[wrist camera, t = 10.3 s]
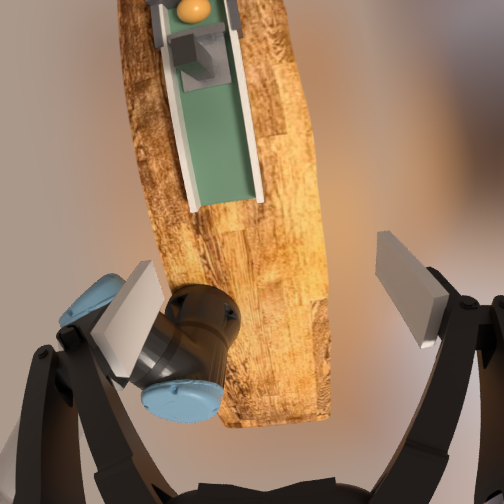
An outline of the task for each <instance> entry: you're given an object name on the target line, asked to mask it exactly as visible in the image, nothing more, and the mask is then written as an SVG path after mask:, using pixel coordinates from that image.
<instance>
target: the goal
mask: <svg viewBox="0 0 504 504" xmlns="http://www.w3.org/2000/svg"><path fill="white" fill-rule="evenodd" d="M145 1H146V3H147V4H148V5H150V8H151V18H152V27H153V36H154V44H155V48H156V49H157V50H159V51H160V52H161V47H164V43H163V35H162V27H161V19H160V10H159V5H160V4H163V5H164V6H165V7H166V8H167V10H169V9H173V8H176V7H178V4H179V3H180V2H181V1H182V0H145ZM227 1H228V6H229V12H230V17H231V23H232V28H233V31H234V30H237V33H238V37H239V39H240V38H243V32H242V27H241V21H240V16H239V11H238V5H237V0H227Z"/></svg>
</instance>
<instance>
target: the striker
mask: <svg viewBox="0 0 504 504" xmlns="http://www.w3.org/2000/svg"><path fill="white" fill-rule="evenodd" d="M225 38H228V34H227V29H226V26H225V24H224V22H221V23H216V24H211V25H206V26H202V27H197V28H193V29H189V30H185V31H181V32H177V33H174V34H170V35H168V40H169V44H170V45H171V47H172V54H173V61H174V67H176V68H178V69H179V70H181V75H182V81H183V88H184V92H185V93H187V92H191V91H196V90H200V89H205V88H210V87H215V86H220V85H226V84H232V79H231V73H230V67H229V61H228V55H227V49H226V43H225Z"/></svg>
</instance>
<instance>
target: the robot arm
mask: <svg viewBox="0 0 504 504" xmlns="http://www.w3.org/2000/svg"><path fill="white" fill-rule="evenodd" d="M375 274H376V276H377V277H378V278H379V280H380V282H381V283H382V285H383V287H384V288H385V290H386V291H387V293H388V294H389V296H390V298H391V299H392V301H393V302H394V304H395V306H396V307H397V309H398V311H399V312H400V314H401V316H402V317H403V319H404V321H405V322H406V324H407V326H408V327H409V329H410V331H411V333H412V334H413V336H414V338H415V340H416V341H417V343H418V345H419V347H420V349H422V348H426V347H429V346H433V345H434V344H435V342H436V339H437V336H439V337H440V338H441V340H442V342H441V344H440V348H439V350H438V353H437V356H436V360H435V363H434V366H433V369H432V372H431V374H430V377H429V380H428V382H427V385H426V388H425V390H424V393H423V395H422V397H421V400H420V403H419V405H418V407H417V409H416V411H415V414H414V416H413V418H412V420H411V422H410V425H409V427H408V429H407V431H406V433H405V435H404V437H403V439H402V441H401V443H400V444H399V446H398V448H397V450H396V452H395V454H394V455H393V457H392V459H391V461H390V462H389V464H388V466H387V468H386V469H385V471H384V472H383V474H382V476H381V477H380V478H379V480H378V481H377V483H376V484H375V486H374V487H373V489H372V490H371V492H369V491H367V490H365V489H362V488H360V487H357V486H353V485H349V484H342V483H336V481H335V477H332V478H326V479H320V480H312V481H303V482H299V483H296V484H292V485H289V486H286V487H283V488H279V489H275V490H271V491H268V492H262V491H257V490H252V489H248V488H243V487H239V486H234V485H228V484H207V483H199V485H198V490H193V491H188V492H185V493H183V494H180V495H178V494H177V493H176V492H175V491H174V490H173V489H172V488H171V487H170V486H169V484H168V483H167V482H166V480H165V479H164V477H163V476H162V474H161V473H160V471H159V469H158V468H157V466H156V465H155V463H154V461H153V460H152V458H151V457H150V455H149V453H148V451H147V450H146V448H145V446H144V444H143V443H142V441H141V439H140V437H139V435H138V434H137V432H136V430H135V428H134V426H133V424H132V422H131V420H130V418H129V416H128V414H127V412H126V410H125V408H124V406H123V404H122V402H121V400H120V397H119V395H118V393H117V391H122V390H123V389H124V388H125V386H126V385H127V383H128V382H129V381H130V382H131V383H133V384H134V385H136V386H137V387H138V388H140V389H141V390H142V392H141V402H142V404H143V405H144V407H145V408H146V409H147V410H148V411H149V412H151V413H152V414H154V415H156V416H157V417H160V418H162V419H166V420H169V421H174V422H180V423H196V422H201V421H205V420H208V419H210V418H211V417H213V416H214V415H215V414H216V413H217V412H218V410H219V408H220V404H221V399H222V396H223V394H224V381H225V372H226V363H227V353H228V350H229V348H230V347H231V345H232V343H233V342H234V340H235V339H236V337H237V336H238V333H239V330H240V324H241V314H240V311H239V308H238V306H237V305H236V303H235V302H234V300H233V299H232V298H231V297H230V296H228V295H227V294H226V293H224V292H223V291H221V290H219V289H216V288H214V287H211V286H206V285H191V286H186V287H183V288H181V289H179V290H178V291H176V292H175V293H174V294H173V295H172V296H171V298H170V299H169V302H168V304H167V306H166V309H165V314H163V313H161V312H160V311H159V310H160V308H161V306H162V304H163V302H164V300H165V297H164V294H163V291H162V289H161V286H160V283H159V280H158V277H157V274H156V271H155V268H154V265H153V262H152V260H149V261H141V262H140V263H139V265H138V266H137V268H136V269H135V270H134V271H133V273H132V274H131V275H130V277H129V278H128V280H127V281H125V280H123V279H122V278H121V277H120V276H118V275H117V274H107V275H105V276H103V277H102V278H100V279H99V280H98V281H97V282H95V283H94V284H93V285H92V286H91V287H90V288H89V289H88V290H86V291H85V292H84V293H83V294H82V295H81V296H80V297H79V298H78V299H77V300H76V301H75V302H74V303H73V304H72V305H71V307H69V308H68V310H67V311H66V312H65V313H64V314H63V315H62V316H61V317H60V319H59V324H60V326H61V329H60V330H59V331H58V333H57V335H56V338H57V340H58V347H59V352H55V350H54V349H53V347H52V346H51V345H44V346H41V347H40V348H38V349H37V351H36V352H35V353H34V355H33V359H32V363H31V367H30V371H29V375H28V379H27V384H26V389H25V394H24V399H23V405H22V411H21V416H20V418H19V420H18V421H17V423H16V425H15V427H14V429H13V431H12V432H11V434H10V436H9V438H8V440H7V442H6V444H5V446H4V448H3V450H2V452H1V454H0V504H86V501H85V495H84V488H83V480H82V472H81V461H80V449H79V440H80V438H81V436H82V434H83V433H85V436H86V439H87V442H88V445H89V448H90V451H91V453H92V456H93V459H94V461H95V464H96V466H97V469H98V472H97V473H94V479H95V482H96V484H97V487H98V489H99V491H100V494H101V496H102V498H103V500H104V502H105V504H429V502H430V500H431V498H432V496H433V494H434V492H435V490H436V488H437V486H438V484H439V482H440V480H441V477H442V475H443V472H444V470H445V468H446V465H447V463H448V460H449V455H448V454H447V453H448V449H449V446H450V443H451V441H452V438H453V435H454V432H455V429H456V426H457V423H458V420H459V417H460V413H461V410H462V407H463V403H464V399H465V395H466V392H467V387H468V383H469V379H470V374H471V370H472V364H473V359H474V354H475V350H477V357H478V367H479V378H480V398H481V432H480V450H479V462H478V471H477V478H476V486H475V494H474V504H504V296H503V295H498V296H496V297H494V299H493V302H492V305H480V304H479V302H478V301H477V300H476V299H474V298H472V297H470V296H464V295H462V296H461V295H460V294H459V293H458V292H457V290H456V289H455V288H454V287H453V286H452V285H451V284H450V283H449V282H448V281H447V280H446V279H445V278H444V276H443V275H442V274H441V273H440V272H439V271H438V270H436V269H434V268H432V267H424V265H422V263H421V262H420V261H419V260H418V259H417V258H416V257H415V256H414V255H413V254H412V253H411V252H410V251H409V250H408V249H407V248H406V247H405V246H404V245H403V244H402V243H401V242H400V241H399V240H398V239H397V238H396V237H395V236H394V235H393V234H392V233H391V232H390V231H382V232H377V256H376V272H375Z"/></svg>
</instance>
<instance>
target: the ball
mask: <svg viewBox="0 0 504 504" xmlns="http://www.w3.org/2000/svg"><path fill="white" fill-rule="evenodd" d="M210 12H211V4H210V2H209V1H208V0H182V1H181V2H180V3H179V4H178V7H177V15H178V17H179V18H180V19H181V20H182V21H183V22H185V23H189V24H196V23H200V22H202V21H204V20H205V19H206V18H207V17H208V16H209V14H210Z"/></svg>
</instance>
